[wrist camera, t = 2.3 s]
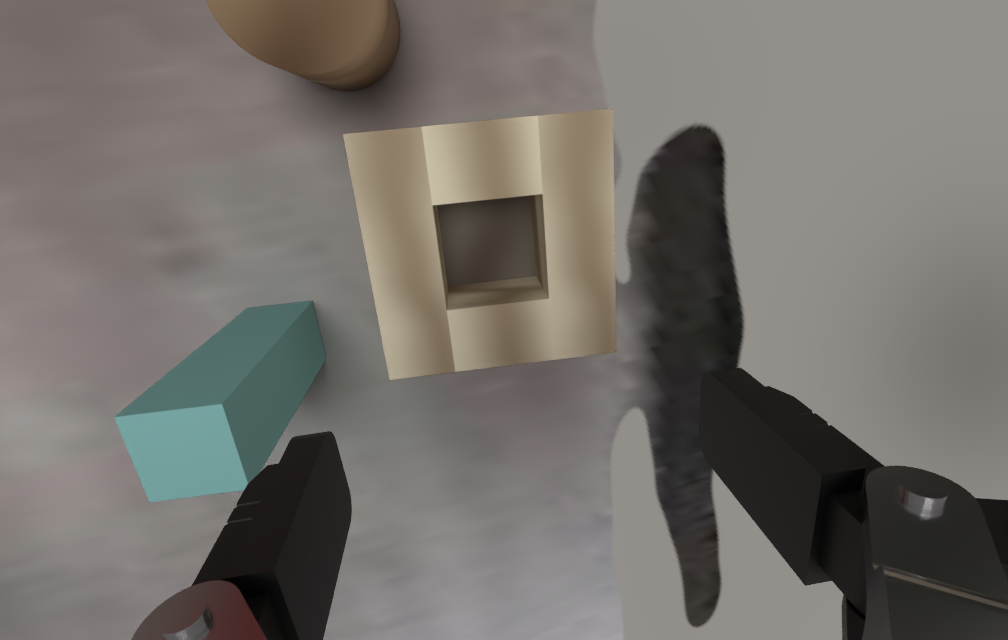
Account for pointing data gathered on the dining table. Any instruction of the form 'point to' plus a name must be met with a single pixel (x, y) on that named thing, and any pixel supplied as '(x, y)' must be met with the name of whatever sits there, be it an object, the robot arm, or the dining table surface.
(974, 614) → the robot arm
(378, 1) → the tan cylinder
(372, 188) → the socket block
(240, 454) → the square peg
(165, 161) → the dining table surface
